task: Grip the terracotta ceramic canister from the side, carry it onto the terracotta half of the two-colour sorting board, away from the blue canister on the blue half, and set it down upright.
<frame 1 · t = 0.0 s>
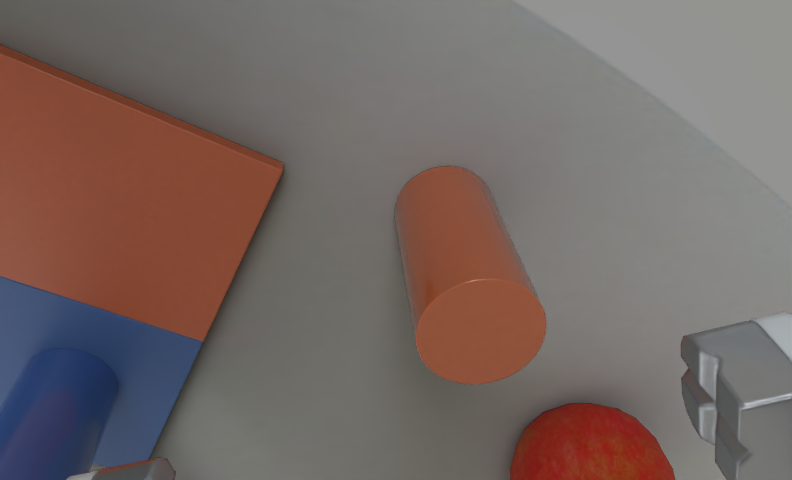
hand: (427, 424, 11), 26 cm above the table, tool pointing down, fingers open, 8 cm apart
apple: (570, 438, 48), on the table
blue canister: (70, 384, 41), point 1 cm above the table, touching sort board
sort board: (67, 286, 38), on the table
terracotta canister: (443, 211, 38), on the table
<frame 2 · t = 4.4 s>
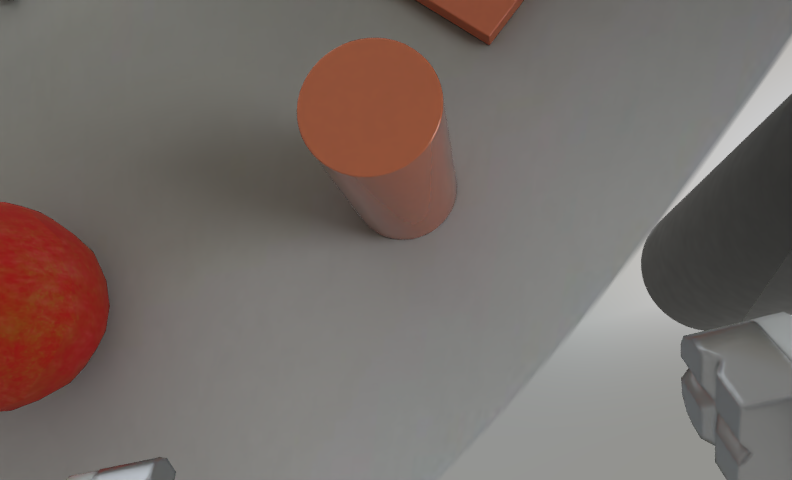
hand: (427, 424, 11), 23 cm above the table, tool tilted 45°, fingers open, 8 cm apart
apple: (43, 314, 38), on the table
terracotta canister: (404, 188, 36), on the table
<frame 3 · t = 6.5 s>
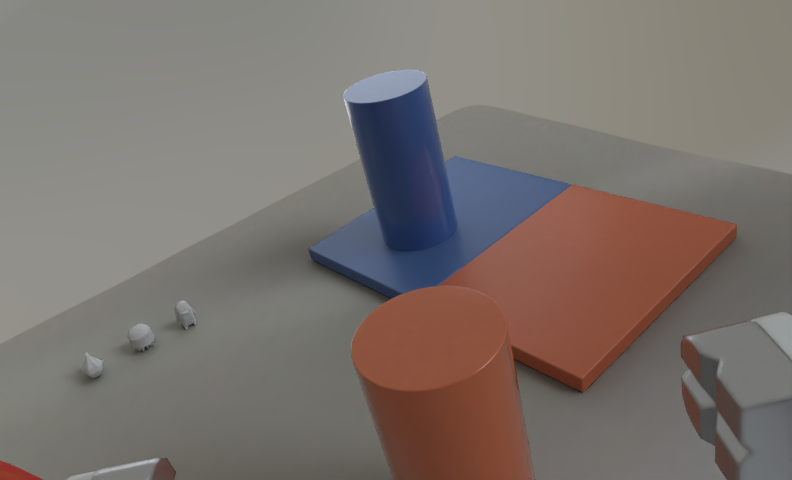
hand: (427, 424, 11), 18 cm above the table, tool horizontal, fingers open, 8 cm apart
blue canister: (419, 229, 50), point 1 cm above the table, touching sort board
game pieces: (145, 351, 47), on the table
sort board: (503, 249, 47), on the table
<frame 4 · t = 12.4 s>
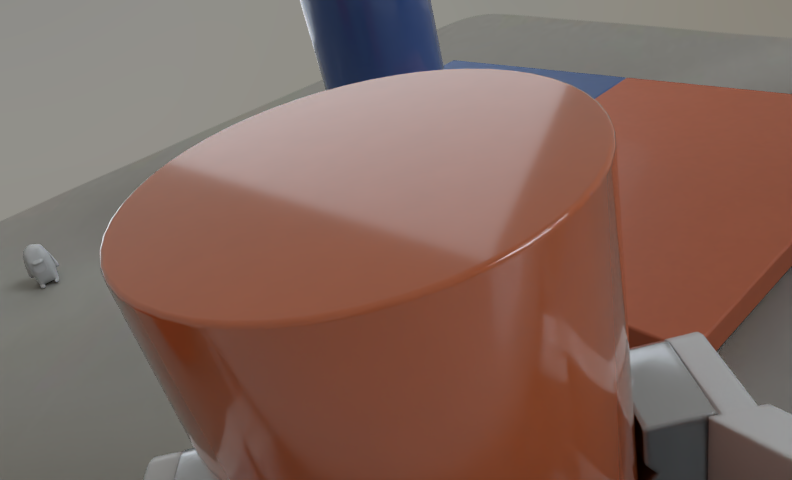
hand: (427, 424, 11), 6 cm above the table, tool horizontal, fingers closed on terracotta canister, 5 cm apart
blue canister: (400, 142, 33), point 1 cm above the table, touching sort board
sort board: (526, 165, 31), on the table
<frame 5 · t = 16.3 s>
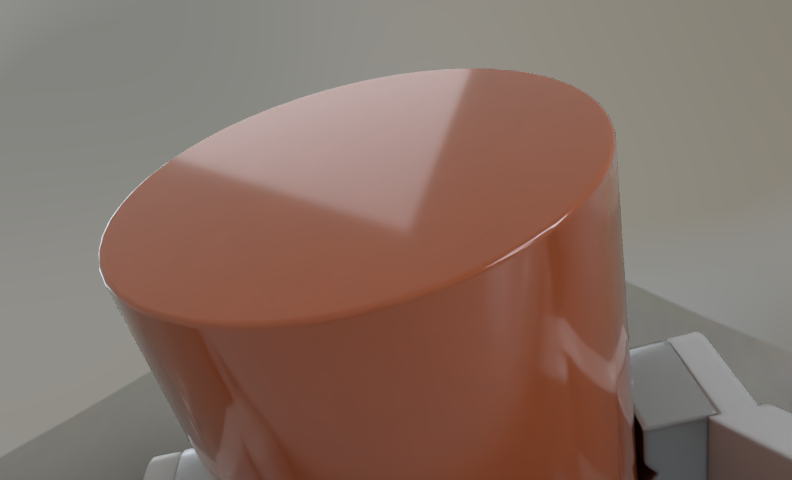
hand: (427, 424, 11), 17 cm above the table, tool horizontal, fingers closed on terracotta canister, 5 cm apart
when the fingers open (7 cm above the table, at t = 20.5 s): terracotta canister stays where it is, resting on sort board.
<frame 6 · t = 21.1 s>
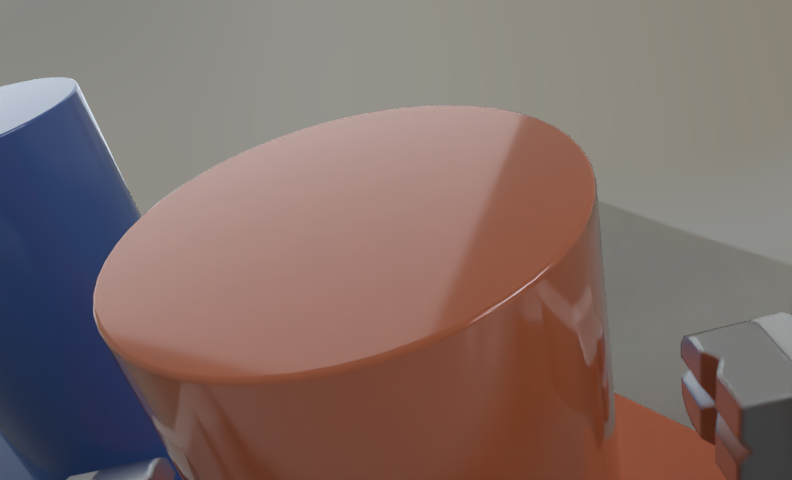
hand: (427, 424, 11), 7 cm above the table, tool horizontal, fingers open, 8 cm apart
blue canister: (151, 458, 21), point 1 cm above the table, touching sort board
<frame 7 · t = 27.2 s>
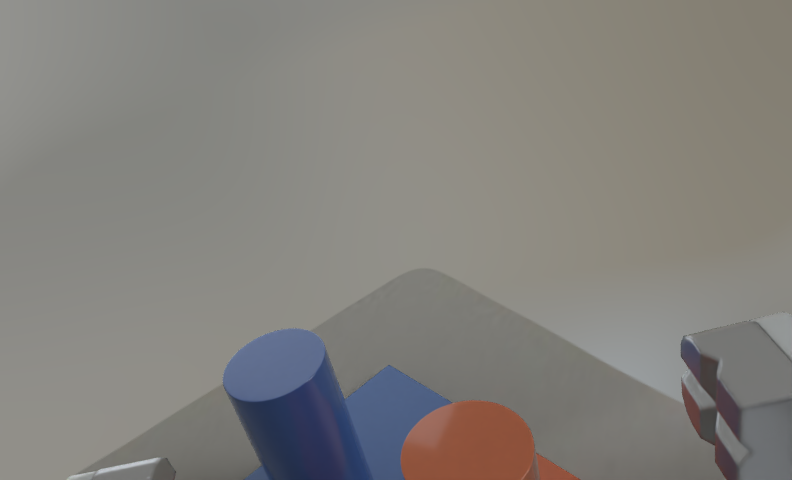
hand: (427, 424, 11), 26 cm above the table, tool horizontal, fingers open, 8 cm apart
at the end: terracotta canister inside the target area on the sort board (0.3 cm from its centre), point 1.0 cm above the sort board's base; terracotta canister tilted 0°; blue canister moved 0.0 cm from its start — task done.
